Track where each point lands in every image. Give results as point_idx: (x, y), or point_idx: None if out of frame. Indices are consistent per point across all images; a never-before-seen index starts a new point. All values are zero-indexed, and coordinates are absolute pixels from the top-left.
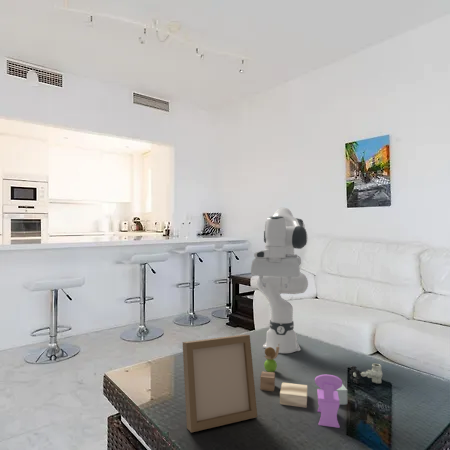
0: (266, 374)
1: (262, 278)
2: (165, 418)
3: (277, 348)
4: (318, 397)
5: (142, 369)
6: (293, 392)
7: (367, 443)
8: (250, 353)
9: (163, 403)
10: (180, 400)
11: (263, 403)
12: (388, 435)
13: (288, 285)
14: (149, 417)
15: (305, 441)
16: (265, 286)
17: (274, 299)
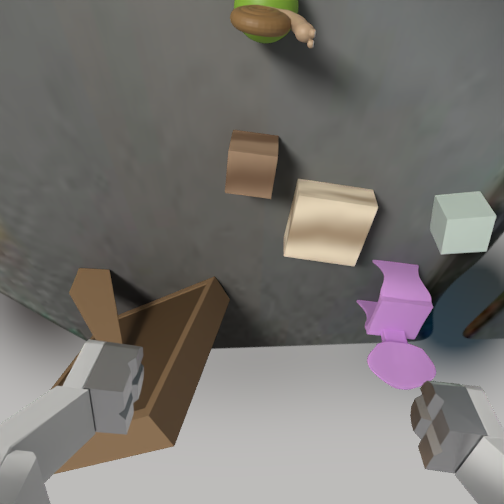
0: (245, 174)
1: (46, 492)
2: (48, 300)
3: (302, 41)
4: (369, 331)
5: None
6: (322, 250)
7: (427, 337)
8: (189, 400)
9: (4, 255)
10: (33, 241)
11: (241, 238)
12: (485, 319)
13: (489, 420)
14: (16, 299)
15: (316, 338)
16: (140, 362)
17: None
